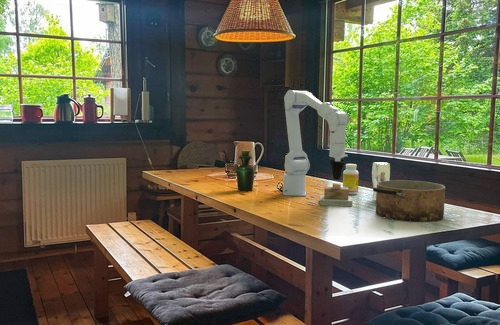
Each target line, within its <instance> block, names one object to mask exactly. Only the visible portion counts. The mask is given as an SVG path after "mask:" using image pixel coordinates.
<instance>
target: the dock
mask: <svg viewBox="0 0 500 325" xmlns="http://www.w3.org/2000/svg"><path fill="white" fill-rule="evenodd" d="M319 205H320V206H330V207H331V206H333V207H334V206H335V207H339V206H340V207H353V198H352V196H351V195H348V200H339V199H324V194H323V195H320V196H319Z"/></svg>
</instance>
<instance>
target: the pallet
mask: <svg viewBox="0 0 500 325" xmlns="http://www.w3.org/2000/svg"><path fill="white" fill-rule="evenodd" d="M348 194H349V189H348V187H343V186H341V189H334V188H332V186H324V193H323V196H324V199H339V200H348V196H349V195H348Z"/></svg>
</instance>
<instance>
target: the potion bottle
mask: <svg viewBox="0 0 500 325" xmlns="http://www.w3.org/2000/svg"><path fill="white" fill-rule="evenodd" d="M240 151H241V155H239V156H238V159H240V161H241V164H240V165H239V166H237V167H236V169H235V170H236V181H237V182H236V184H237V190H240V191H251V192H253V190H254V189H253V188H254V179H255V168H254V167H253V166H252V165H250V160H251V159H253V156H252V155H251V154H250V151H251V150H248V149H242V150H240ZM240 191H239V192H240Z"/></svg>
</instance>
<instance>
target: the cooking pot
mask: <svg viewBox="0 0 500 325" xmlns="http://www.w3.org/2000/svg"><path fill="white" fill-rule="evenodd" d="M373 191H375V192H376V201H375V213H376V215H377V216H379V217H381V218H384V217H385V218H384V219H388V218H389V220H392V219H393V221H399V222H409V223H432V222H433V221H434V222H438V220H439V221H441V220H443V218H444V215H445V199H446V197H445V196H446V185H445V184H443V183H437V182H431V181H421V180H408V179H407V180H404V179H400V180H399V179H397V180H396V179H395V180H394V179H391V180H390V179H389V181H381V182H378V183H377V188H372V192H373ZM434 222H433V223H434Z"/></svg>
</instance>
